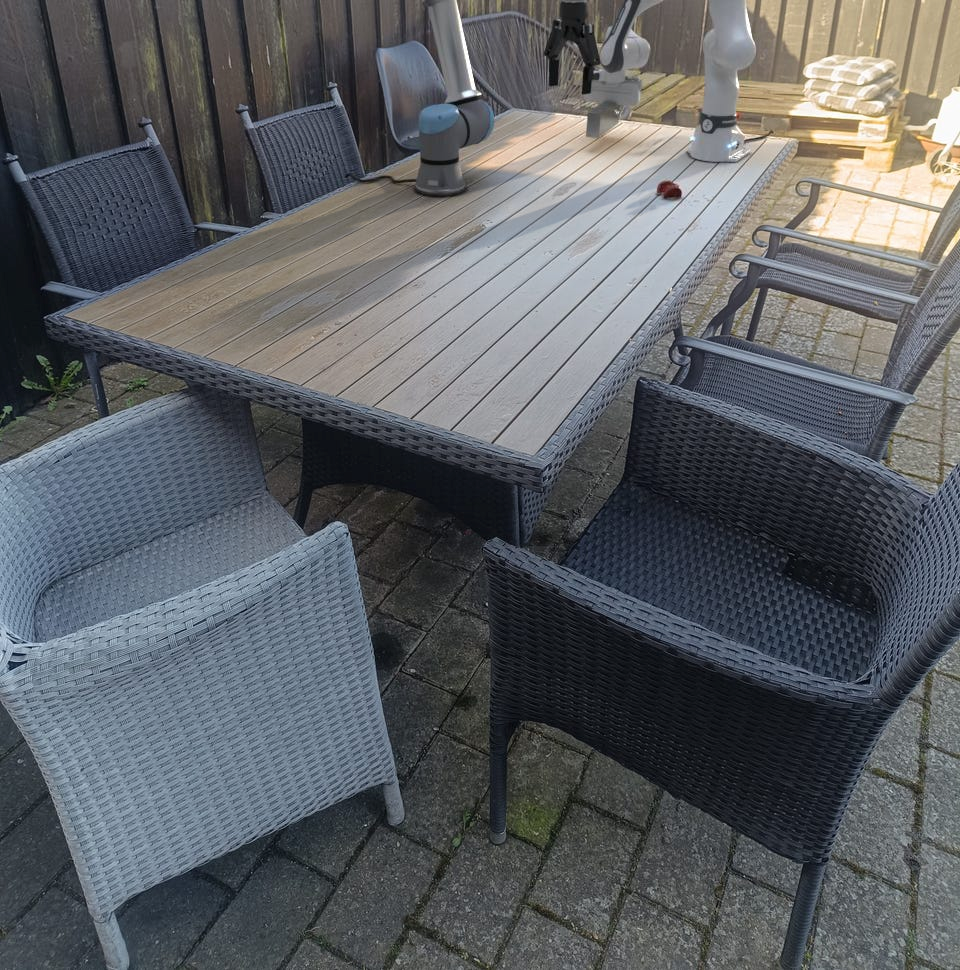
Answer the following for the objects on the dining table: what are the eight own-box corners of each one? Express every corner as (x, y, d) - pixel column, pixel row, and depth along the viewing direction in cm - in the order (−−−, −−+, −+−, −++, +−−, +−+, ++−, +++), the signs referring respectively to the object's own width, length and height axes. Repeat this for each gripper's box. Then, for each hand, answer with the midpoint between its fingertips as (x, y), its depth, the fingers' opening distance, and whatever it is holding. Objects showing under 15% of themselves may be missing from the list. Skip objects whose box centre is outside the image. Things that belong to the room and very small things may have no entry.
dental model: (673, 176, 254) (684, 184, 248) (671, 190, 257) (683, 198, 251) (655, 178, 253) (666, 186, 247) (654, 192, 256) (665, 200, 250)
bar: (598, 138, 290) (600, 113, 285) (585, 137, 291) (587, 112, 286) (618, 123, 309) (620, 99, 305) (606, 121, 311) (608, 98, 306)
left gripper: (618, 4, 212) (611, 95, 224) (554, -5, 228) (550, 81, 241) (596, 6, 208) (590, 99, 221) (532, -3, 225) (530, 84, 237)
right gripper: (645, 76, 296) (640, 118, 304) (589, 71, 303) (586, 112, 311) (640, 79, 292) (635, 121, 300) (584, 74, 298) (580, 115, 306)
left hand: (569, 89), depth 231 cm, fingers open, 13 cm apart
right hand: (610, 116), depth 305 cm, fingers closed on bar, 4 cm apart
